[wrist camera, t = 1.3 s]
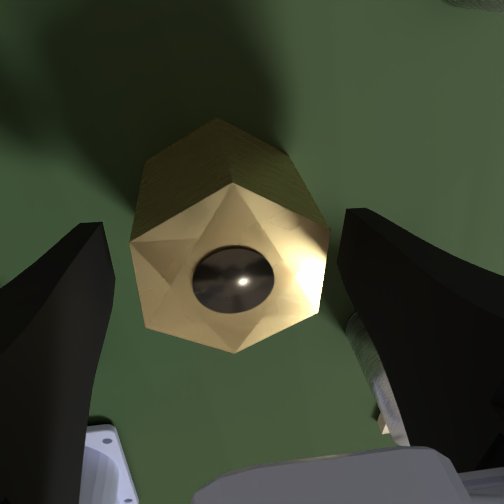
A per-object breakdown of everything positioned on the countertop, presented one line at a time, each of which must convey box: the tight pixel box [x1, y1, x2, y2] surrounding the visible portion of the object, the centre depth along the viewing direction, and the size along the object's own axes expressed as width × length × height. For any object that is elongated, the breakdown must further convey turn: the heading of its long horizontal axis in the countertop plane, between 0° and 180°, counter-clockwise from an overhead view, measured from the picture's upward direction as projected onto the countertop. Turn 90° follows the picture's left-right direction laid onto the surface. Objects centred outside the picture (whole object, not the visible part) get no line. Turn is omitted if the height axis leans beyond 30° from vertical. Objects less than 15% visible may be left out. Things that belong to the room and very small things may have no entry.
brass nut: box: [129, 117, 331, 353], centre depth 13 cm, size 6×5×5 cm
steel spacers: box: [345, 0, 504, 446], centre depth 13 cm, size 18×18×6 cm
